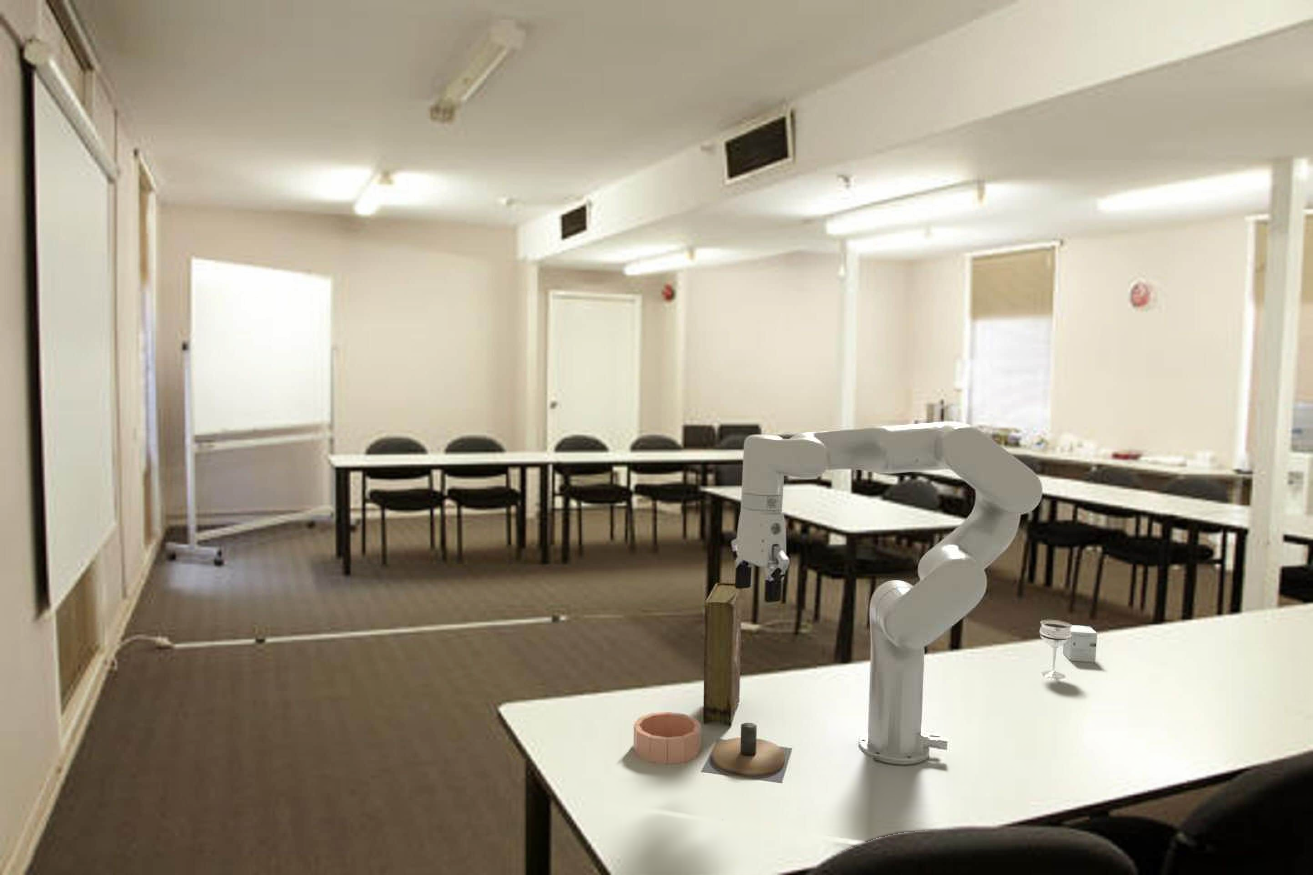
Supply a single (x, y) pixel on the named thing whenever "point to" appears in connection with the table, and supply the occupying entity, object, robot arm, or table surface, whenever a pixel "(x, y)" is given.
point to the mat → (774, 777)
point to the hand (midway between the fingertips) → (757, 594)
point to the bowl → (667, 737)
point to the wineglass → (1055, 640)
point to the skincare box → (1081, 644)
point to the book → (722, 654)
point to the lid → (748, 754)
